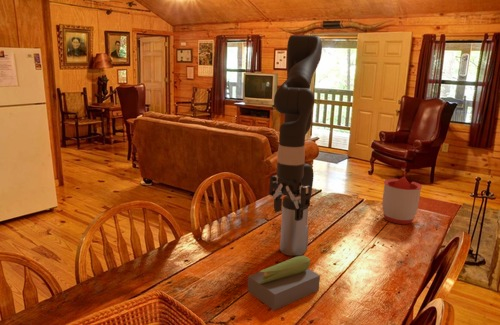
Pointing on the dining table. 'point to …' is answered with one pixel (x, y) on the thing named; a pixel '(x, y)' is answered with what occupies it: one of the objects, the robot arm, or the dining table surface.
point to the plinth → (283, 288)
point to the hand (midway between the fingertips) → (287, 215)
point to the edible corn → (286, 269)
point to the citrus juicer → (400, 200)
